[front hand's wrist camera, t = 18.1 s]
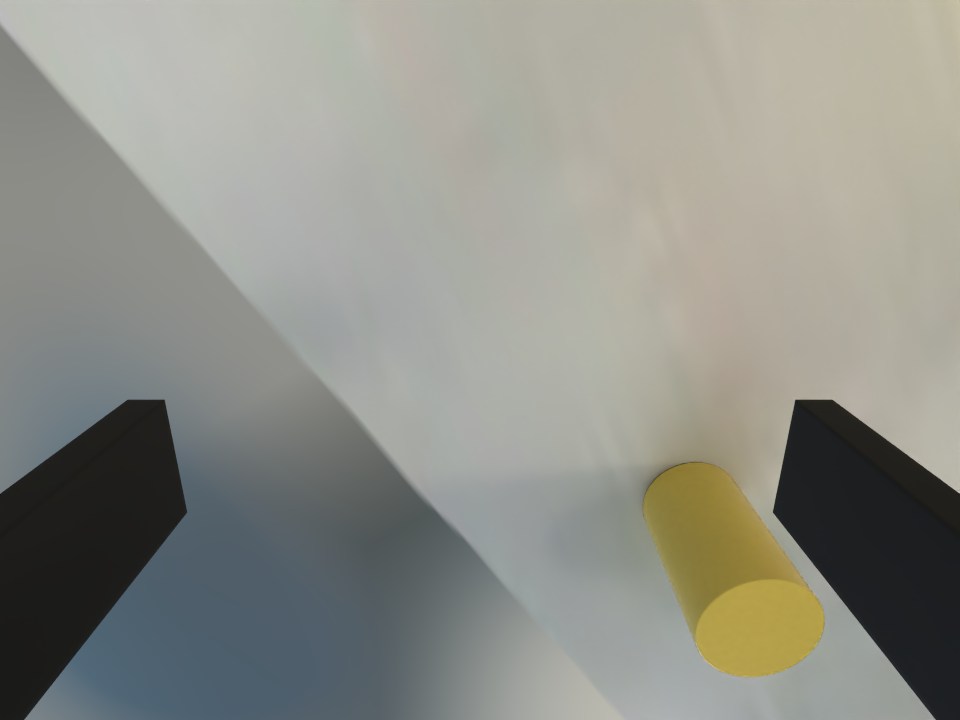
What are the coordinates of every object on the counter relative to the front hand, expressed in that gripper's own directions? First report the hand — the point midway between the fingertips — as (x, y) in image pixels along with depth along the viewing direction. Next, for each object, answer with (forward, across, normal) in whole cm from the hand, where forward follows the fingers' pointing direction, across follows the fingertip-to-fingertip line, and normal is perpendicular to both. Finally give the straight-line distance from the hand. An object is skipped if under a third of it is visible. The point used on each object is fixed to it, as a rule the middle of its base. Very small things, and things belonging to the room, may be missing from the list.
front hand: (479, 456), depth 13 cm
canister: (+22, +14, -16) cm, 30 cm away
